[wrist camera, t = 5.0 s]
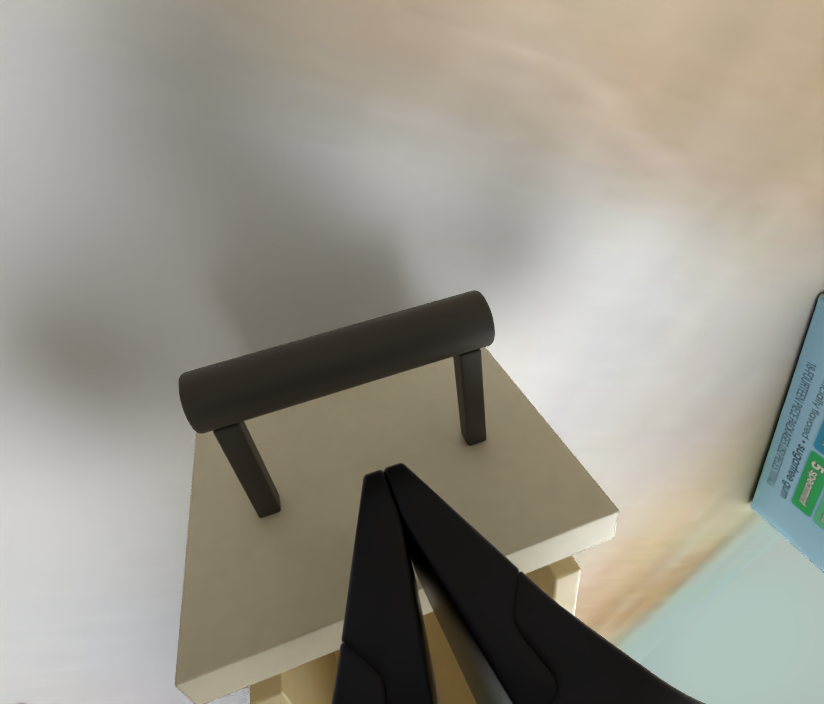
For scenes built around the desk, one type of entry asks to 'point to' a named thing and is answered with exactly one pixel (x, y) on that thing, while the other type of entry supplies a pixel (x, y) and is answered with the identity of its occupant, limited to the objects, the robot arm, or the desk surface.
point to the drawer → (358, 491)
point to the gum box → (799, 454)
